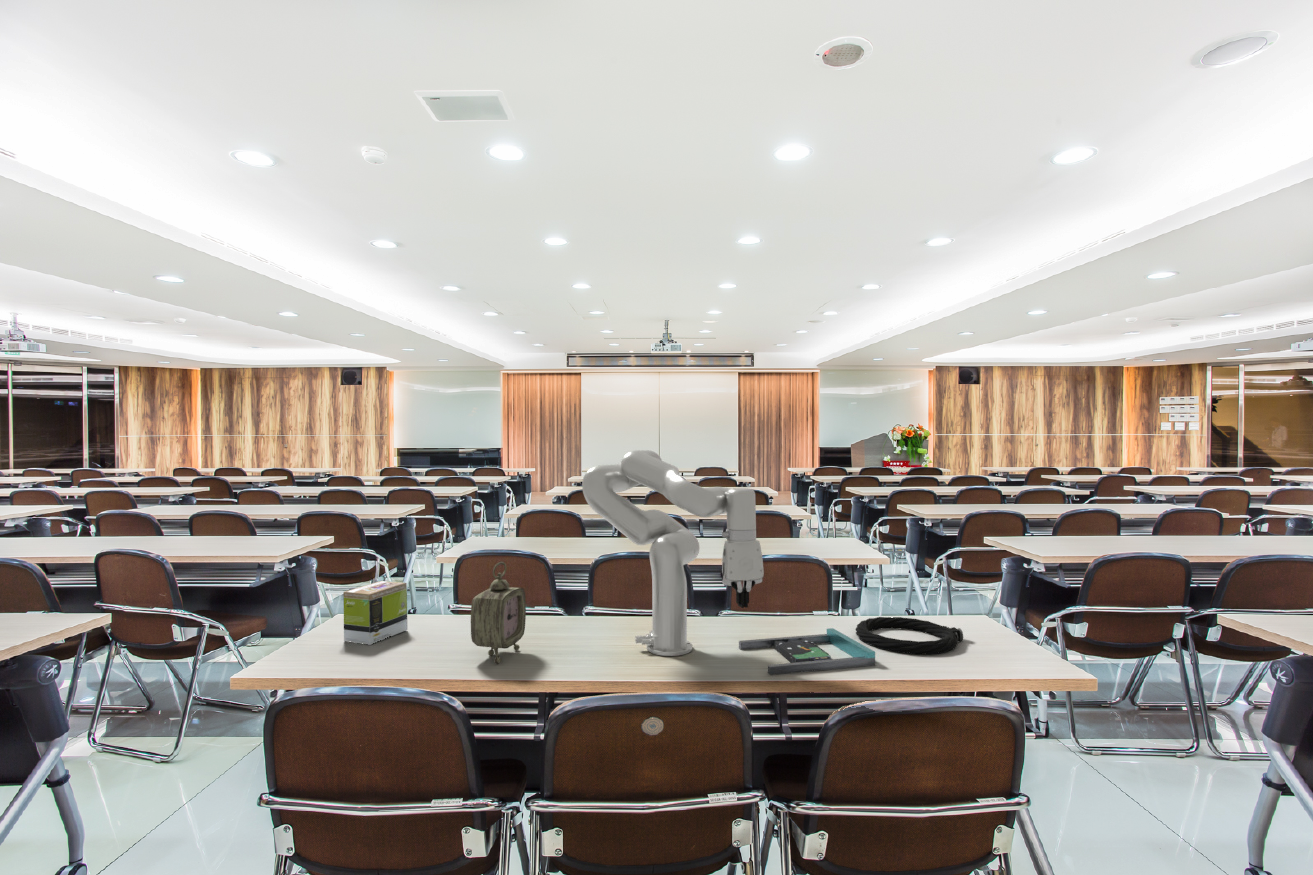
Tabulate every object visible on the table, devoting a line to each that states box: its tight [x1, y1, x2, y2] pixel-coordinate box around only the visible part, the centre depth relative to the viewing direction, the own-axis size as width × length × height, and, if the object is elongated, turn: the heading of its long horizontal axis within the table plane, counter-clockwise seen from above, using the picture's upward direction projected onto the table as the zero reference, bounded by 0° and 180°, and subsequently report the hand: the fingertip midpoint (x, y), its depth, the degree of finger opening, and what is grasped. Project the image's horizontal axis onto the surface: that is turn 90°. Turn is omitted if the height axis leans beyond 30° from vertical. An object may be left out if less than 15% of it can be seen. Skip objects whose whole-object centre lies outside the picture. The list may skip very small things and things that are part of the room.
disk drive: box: [774, 639, 833, 663], centre depth 165 cm, size 10×3×15 cm
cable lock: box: [855, 616, 964, 656], centre depth 179 cm, size 28×4×30 cm
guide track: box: [738, 627, 876, 676], centre depth 165 cm, size 29×21×4 cm
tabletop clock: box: [470, 561, 527, 665], centre depth 164 cm, size 14×9×25 cm, turn 166°
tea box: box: [343, 580, 408, 646], centre depth 181 cm, size 15×10×15 cm, turn 160°
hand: (742, 606), depth 160 cm, fingers closed
